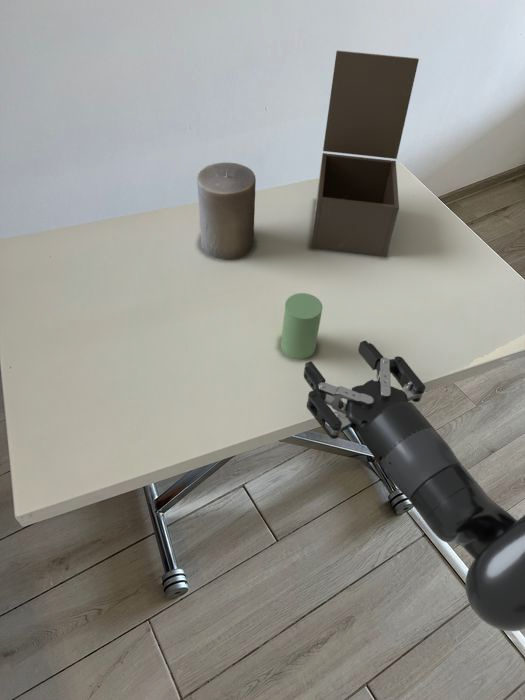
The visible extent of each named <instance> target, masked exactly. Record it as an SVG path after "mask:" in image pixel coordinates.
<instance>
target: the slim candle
mask: <svg viewBox="0 0 525 700" xmlns="http://www.w3.org/2000/svg"><path fill="white" fill-rule="evenodd" d="M322 313H323V304H322V302H321V300H320V299H319V298H318V297H317V296H315V295H313V294H310V293H305V292H300V293H295V294H292V295H290V296H289V297H288V298H287V299H286V301H285V304H284V313H283V321H282V324H283V325H282V332H281V340H280V341H281V342H280V348H281V351H282V352H283V353H284V354H285V355H286V356H287V357H289V358H292V359H294V360H304V359H307V358H310V357H311V356H313V354H314V353H315V351H316V347H317V340H318V335H319V329H320V323H321V318H322Z"/></svg>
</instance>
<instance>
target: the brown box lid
mask: <svg viewBox="0 0 525 700" xmlns="http://www.w3.org/2000/svg"><path fill="white" fill-rule="evenodd" d="M335 52H336V53H335V59H334V66H333V74H332V81H331V89H330V95H329V104H328V110H327V117H326V125H325V132H324V140H323V147H322V152H325V153H338V154H344V155H345V154H347V155H354V156H363V157H372V158H373V157H375V158H381V159H382V158H384V159H393V160H397V159H398V155H399V150H400V146H401V142H402V136H403V133H404V132H403V131H404V127H405V123H406V118H407V115H408V109H409V105H410V100H411V97H412V93H413V87H414V84H415V78H416V73H417V70H418V64H419V62H420V61H419V60H420V58H418V57H409V56H397V55H390V54H389V55H388V54H378V53H377V54H376V53H368V52H365V53H364V52H358V51H348V50H347V51H346V50H336V51H335Z"/></svg>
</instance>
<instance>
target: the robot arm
mask: <svg viewBox="0 0 525 700" xmlns="http://www.w3.org/2000/svg"><path fill="white" fill-rule="evenodd" d="M357 351H358V352H357V353H358V354H359V355H360V356H361V358H363V360H364V361H365V362H366V364H367V365H368V366H369V367H370V368H371V370H372V371H376V374H375V375H376V377H375V380H374V379H370V380H368V381H366V382H365V383H364V384H360V385H355V386H353V387H351V389H349V388H347V387H344V386H342V385H341V386H335V385H332V384H330V383H327V382H326V381H327V380H326V378H325V377H324V376H323V374H322V373H321V372H320V370H319V369H318V368H317V367H316V364H314V362H313V361H311V360H310V361H308V362H305V364H304V369H303V379H304V380H305V382H306V383H307V384H308V385H309V387H310V388H311V391H309V393H308V395H307V402H306V404H305V405H306V408H307V410H308V411H309V413H311V415H312V416H313V418H314V419H315V420H316V421H317V422H318V425H320V426H321V428H322V429H323V430H324V432H325V433H326V434H327V435H328V437H330V438H331V439H333V440H336V439H338V438H339V435H340V433H342V432H344V431H346V430H348V429H349V428H350V429H352V430H354V431H355V432H356V433H357V434H358V435H359V437H360V440H361V441H362V442H363V444H364V445H365V447H366V448H367V449H368V451H369V452H370V453H371V455H372V456H373V457H374V458H375V461H377V463H378V464H379V466H380V467H381V468H382V470H383V471H384V474H385V475H386V476H387V477H388V478H389V479H390V481H391V482H392V483H393V484H394V486H396V488H397V489H398V490H399V491H400V492H401V493H402V495H404V497H405V498H406V499H407V500H408V501H409V502H410V503H411V505H412V506H413V508H414V509H415V511H416V512H417V513H418V514H419V516H420V517H421V518H422V520H423V521H424V523H425V524H426V525H427V526H428V528H429V529H430V530H431V531H432V533H433V534H434V535H435V536H436V537H437V538H438V539H439V540H441V541H442V542H445V543H448V544H454V545H458V546H459V547H462V548H463V549H464V550H465V551H466V552H467V553H468V554H469V555H470V556H471V557H472V558H473V561H472V562H471V564H470V566H469V567H468V570H467V572H466V575H465V576H466V577H465V593H466V597H467V600H468V603H469V605H470V607H471V609H472V610H473V612H474V613H475V614H476V616H477V617H478V618H479V619H480V620H481V621H483V622H484V623H485V624H486V625H488V626H490V627H492V628H494V629H497V630H499V631H505V632H520V631H523V630H525V514H524V515H522V517H520V518H519V519H518V520H517V519H516V518H515V517H514V516H513V515H511V514H510V513H509V512H508V511H507V510H505V509H504V508H503V507H501V506H500V505H499V504H497V503H496V502H495V501H494V500H492V499H491V497H489V496H488V494H487V493H486V492H485V490H484V489H483V488H482V487H481V485H479V483H478V482H477V480H476V479H475V478H474V477H473V476H472V475H471V473H470V472H469V471H468V470H467V469H466V467H465V466H464V465H462V463H461V462H460V460H459V458H458V457H457V456H456V454H455V452H454V450H453V449H452V448H451V446H449V444H448V443H447V442H446V440H444V438H443V436H441V435H440V434H439V432H438V431H437V430H436V429H435V428H434V426H433V425H432V424H431V423H430V422H429V420H427V418H426V417H425V416H424V415H423V413H422V412H421V411H420V410H419V409H418V408H417V406H416V405H415V403H418V402H420V401H421V399H422V397H423V395H424V392H425V390H426V385H425V384H424V383H423V381H422V380H421V379H420V378H419V376H418V375H417V374H416V373H415V371H414V370H413V369H412V368H411V366H410V365H409V364H408V363H407V361H406V360H405V359H404V358H403V357H402V356H399V355H397V356H395V357H394V358H388V357H384V356H383V354H382V353H381V352H380V351H379V350H378V348H377V347H376V346H375V345H374V344H373V343H371V342H368V341H367V340H363V341H360V342H359V345H358V349H357ZM391 376H392V377H394V379H395V380H396V381H397V383H398V385H400V386H401V388H402V390H401V389H399V388H397V387H394V386H392V385H391ZM342 399H345V400H346V402H344V401H343V400H342ZM411 401H412V402H411ZM413 402H414V403H413ZM332 409H333V410H335V411H336V412H334V411H333V410H332ZM340 413H342V414H344V415H345V417H342V416H341V415H340Z"/></svg>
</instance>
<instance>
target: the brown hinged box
mask: <svg viewBox="0 0 525 700" xmlns="http://www.w3.org/2000/svg"><path fill="white" fill-rule="evenodd" d="M319 169H320V170H319V178H318V185H317V191H316V199H315V207H314V216H313V225H312V233H311V241H310V249H311V250H312V249H313V250H321V251H328V252H329V251H331V252H337V253H338V252H339V253H340V252H341V253H347V254H356V255H364V256H373V257H379V258H387V254H388V250H389V247H390V243H391V239H392V235H393V232H394V228H395V225H396V222H397V217H398V214H399V211H400V200H399V187H398V173H397V172H398V171H397V160H390V159H382V158H373V157H365V156H363V157H362V156H356V155H354V156H353V155H345V154H335V153H328V152H322V155H321V162H320V168H319Z"/></svg>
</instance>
